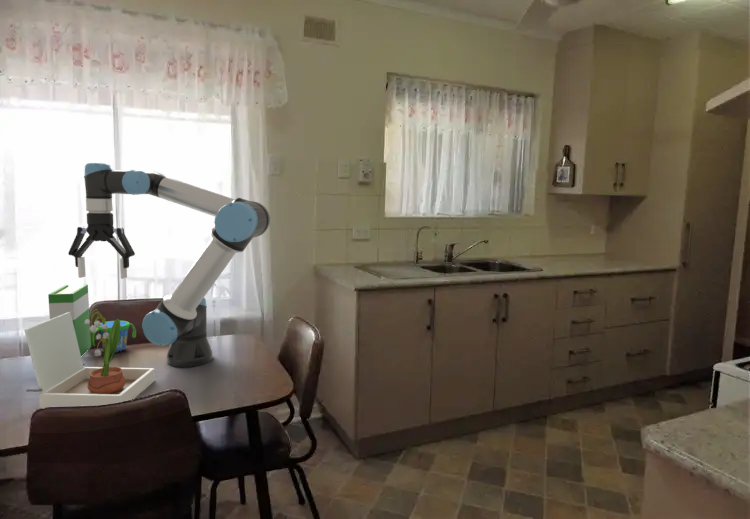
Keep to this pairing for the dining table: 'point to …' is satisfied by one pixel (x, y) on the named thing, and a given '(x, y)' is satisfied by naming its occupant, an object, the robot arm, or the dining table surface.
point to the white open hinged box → (72, 368)
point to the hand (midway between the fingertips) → (103, 277)
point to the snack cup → (123, 334)
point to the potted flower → (106, 360)
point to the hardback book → (73, 311)
